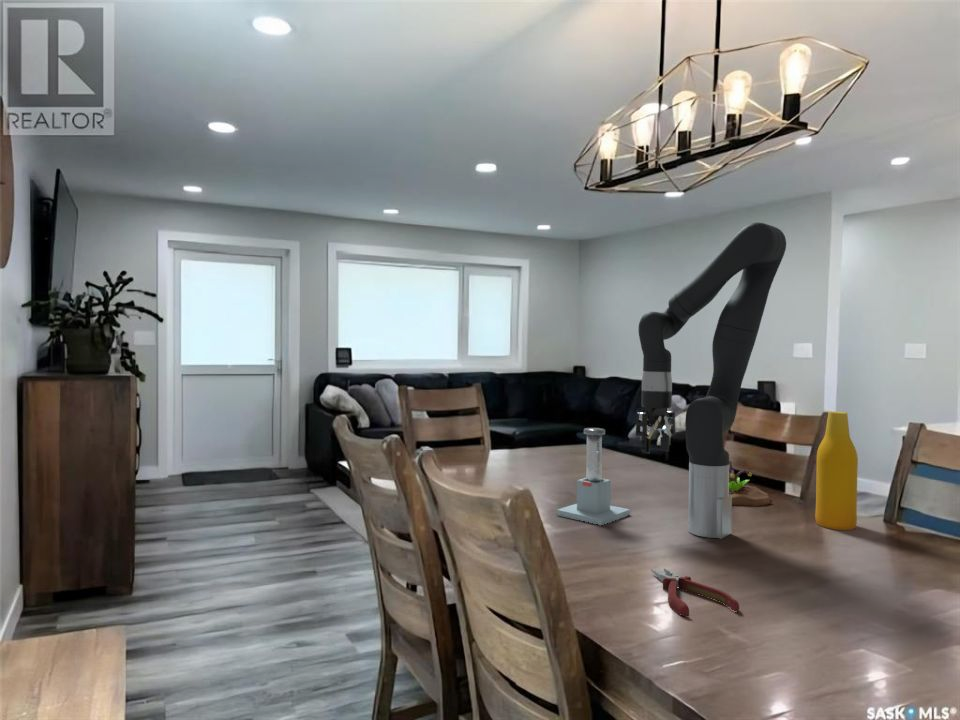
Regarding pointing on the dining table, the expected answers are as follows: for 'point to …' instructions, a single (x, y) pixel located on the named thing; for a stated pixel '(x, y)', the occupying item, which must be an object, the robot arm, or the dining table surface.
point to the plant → (745, 491)
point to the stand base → (593, 504)
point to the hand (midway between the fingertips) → (655, 452)
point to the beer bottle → (836, 476)
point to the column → (594, 454)
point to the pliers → (674, 581)
